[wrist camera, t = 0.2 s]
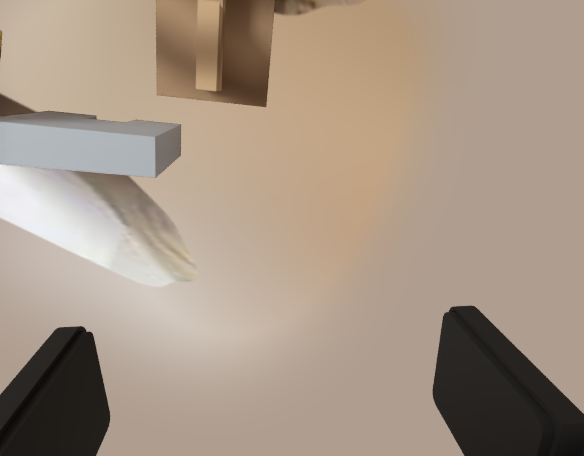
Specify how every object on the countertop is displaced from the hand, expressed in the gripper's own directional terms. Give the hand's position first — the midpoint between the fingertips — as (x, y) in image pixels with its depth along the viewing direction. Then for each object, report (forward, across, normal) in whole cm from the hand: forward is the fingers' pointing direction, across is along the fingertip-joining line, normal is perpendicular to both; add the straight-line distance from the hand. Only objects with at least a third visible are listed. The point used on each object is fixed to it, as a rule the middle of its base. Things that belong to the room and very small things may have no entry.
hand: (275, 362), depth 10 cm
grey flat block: (+31, +14, -3) cm, 34 cm away
